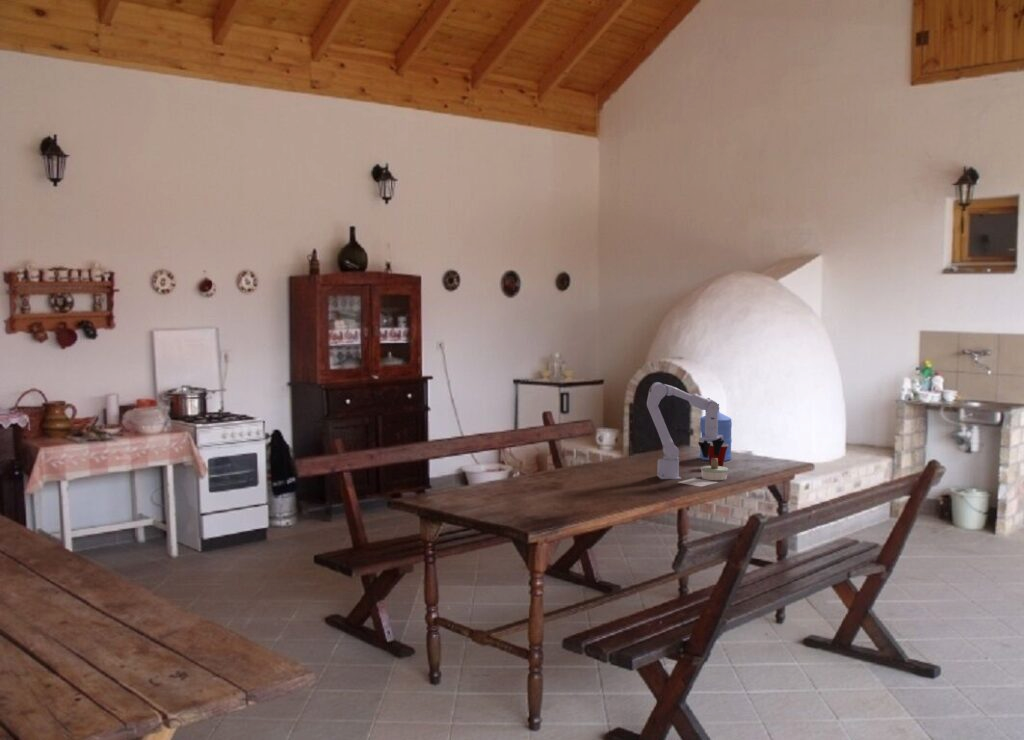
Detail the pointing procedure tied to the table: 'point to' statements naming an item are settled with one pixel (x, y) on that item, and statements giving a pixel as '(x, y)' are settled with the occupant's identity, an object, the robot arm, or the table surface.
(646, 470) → the table surface
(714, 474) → the white low cylinder
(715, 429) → the robot arm
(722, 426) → the water jug
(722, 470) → the lid
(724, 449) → the plastic cup
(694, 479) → the mat
